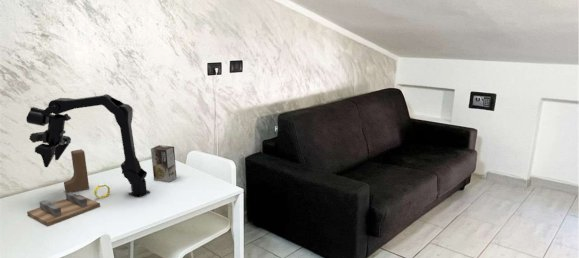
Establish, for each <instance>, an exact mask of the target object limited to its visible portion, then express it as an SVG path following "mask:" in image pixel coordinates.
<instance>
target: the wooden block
mask: <svg viewBox="0 0 579 258" xmlns="http://www.w3.org/2000/svg"><path fill="white" fill-rule="evenodd" d="M85 153H86V152H85V150H84V149H82V148H80V149H76V150H71V151H70V154H71V155H70V156H71V160H72V161H71V162H72V169H73V175H72V177H71V178H70V179H68V180H65V181H63V185H64V191H65V194H66V193H69V192H72V193H77V192H81V191H85V190H89V189H90V184H89V177H88V168H87V161H86V154H85Z"/></svg>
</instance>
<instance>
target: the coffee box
mask: <svg viewBox="0 0 579 258" xmlns="http://www.w3.org/2000/svg"><path fill="white" fill-rule="evenodd" d="M150 152H151V154H150V155H151V164H152V165H151V166H152V174H153V181H157V182H158V181H159V182H165V183H170V182H172V181H174V180H176V179H177V165H176V156H175V155H176V153H175V146H173V145H172V146H170V145H161V144H159V145H156V146H154V147H152V148H150Z"/></svg>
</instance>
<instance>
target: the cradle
mask: <svg viewBox="0 0 579 258" xmlns="http://www.w3.org/2000/svg"><path fill="white" fill-rule="evenodd" d="M100 207H101V204H100V202H99V201H96V200H94V199H91V198H89V197H86V196H84V195H81V194H79V193H78V194H77V193H75V192H73V193H72V192H69V193H66V192H65V198H64V199H60V200H58V201H54V202H52V203H51V202H50V201H48V200H42V201H39V207H37V208H35V209H34V208H33V209H31V210H27V212H26V214H27V216H28V217H29V218H32V219H34V220H36V221H38V222H39V223H41V224H43V225H44V226H46V227H50V226H52V225H55V224H58V223H61V222H63V221H66V220H68V219H71V218H73V217H77V216H79V215H81V214H84V213H87V212H90V211H92V210H95V209H98V208H100Z"/></svg>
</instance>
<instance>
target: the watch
mask: <svg viewBox="0 0 579 258" xmlns="http://www.w3.org/2000/svg"><path fill="white" fill-rule="evenodd" d="M104 187H107V193H106V194H105V195H102V196H98V194H97V192H98V189H100V188H104ZM110 192H111V188H110V186H109V185H107V184H106V183H104V182H103V183H99V184H97V186H96V187H95V189H94V193H93V194H94V195H95V196H94V197H96V198H98V199H104V198H107V197H108V196H109V195H110Z"/></svg>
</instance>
